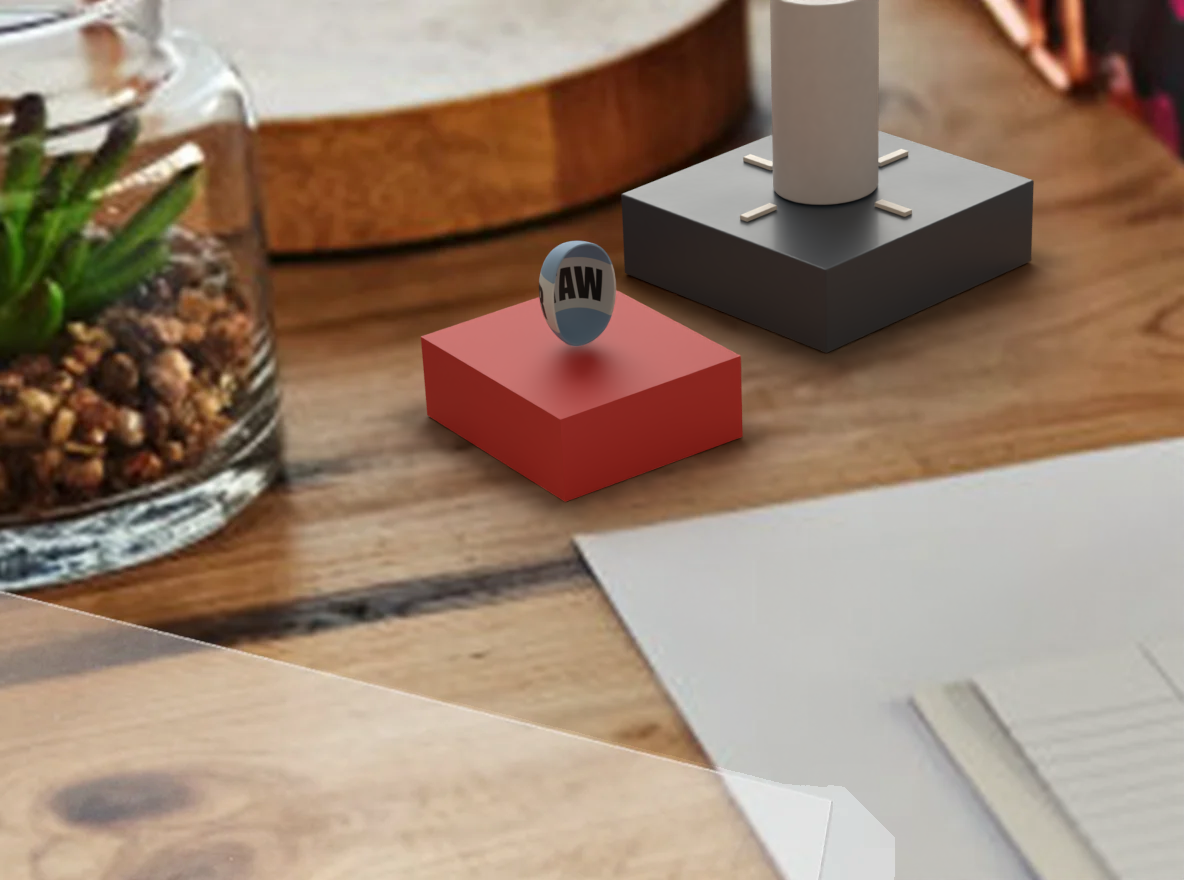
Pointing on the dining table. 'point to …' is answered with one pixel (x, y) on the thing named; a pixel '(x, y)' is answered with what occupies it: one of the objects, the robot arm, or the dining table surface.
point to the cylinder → (825, 99)
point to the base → (828, 240)
